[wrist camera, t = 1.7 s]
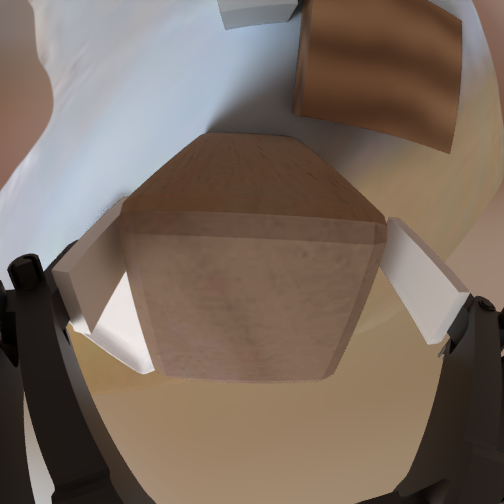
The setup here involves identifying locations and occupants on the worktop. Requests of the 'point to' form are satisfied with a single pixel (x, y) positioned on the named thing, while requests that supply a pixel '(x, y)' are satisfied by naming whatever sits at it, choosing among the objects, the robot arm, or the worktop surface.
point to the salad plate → (122, 330)
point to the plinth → (381, 67)
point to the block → (249, 260)
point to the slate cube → (255, 12)
